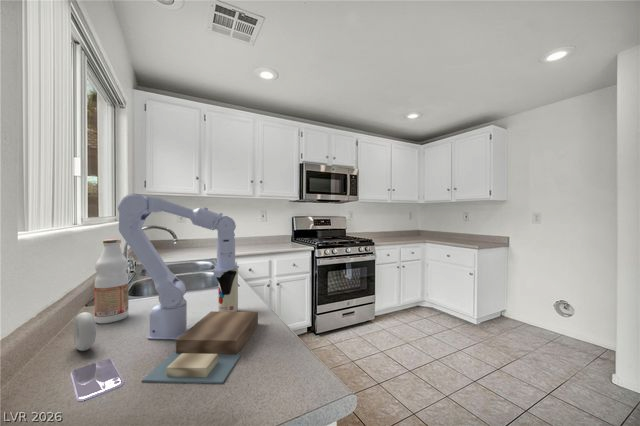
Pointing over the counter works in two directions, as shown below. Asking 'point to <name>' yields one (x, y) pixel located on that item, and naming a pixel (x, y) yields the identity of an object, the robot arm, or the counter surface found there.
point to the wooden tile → (192, 365)
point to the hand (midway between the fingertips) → (226, 294)
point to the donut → (84, 331)
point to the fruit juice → (111, 284)
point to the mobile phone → (95, 379)
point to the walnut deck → (218, 333)
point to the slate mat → (215, 376)
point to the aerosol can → (229, 297)
